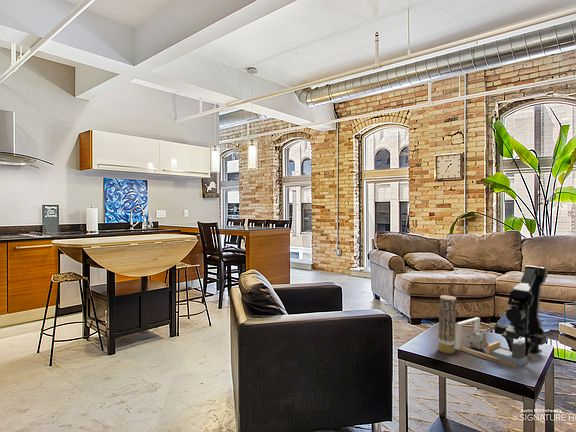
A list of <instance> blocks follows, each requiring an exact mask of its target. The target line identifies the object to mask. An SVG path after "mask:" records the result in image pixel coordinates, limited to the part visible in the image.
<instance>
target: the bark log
mask: <svg viewBox="0 0 576 432" xmlns="http://www.w3.org/2000/svg"><path fill="white" fill-rule="evenodd" d="M439 297H440V298H439V315H438V341H437V342H438V343H437V344H438V346H437V349H438V352H441V353H443V354H449V355H450V354H454V353H455V344H456V318H457V317H456V314H457V297H456V296H452V295H445V294H443V295H440V296H439Z"/></svg>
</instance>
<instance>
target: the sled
mask: <svg viewBox="0 0 576 432" xmlns="http://www.w3.org/2000/svg"><path fill="white" fill-rule="evenodd" d="M500 346H501V341H499V340H498V341H495V342H492V344H489V345H487V346H486V354H487V355H490V356H493V357H496V358H499V359H502V360H505V361H508V362H511V363H514V364H516V366H522V365H524V364H526V363H528V359H527V357H526V356H525V350H526V343H525V341H521V340H519V341H517V342H513V344H512V352H510V351H508V350H504V349H501V348H500Z"/></svg>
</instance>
